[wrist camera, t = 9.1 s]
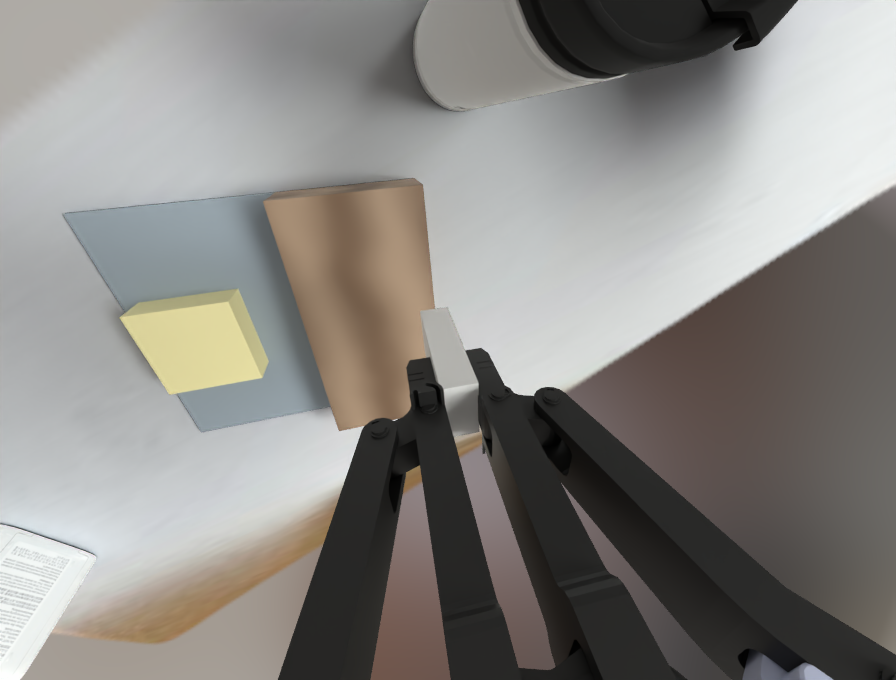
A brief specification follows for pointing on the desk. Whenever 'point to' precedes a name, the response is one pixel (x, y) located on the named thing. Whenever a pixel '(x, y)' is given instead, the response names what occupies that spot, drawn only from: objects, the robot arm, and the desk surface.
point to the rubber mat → (211, 270)
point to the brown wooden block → (358, 288)
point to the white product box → (33, 593)
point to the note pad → (198, 340)
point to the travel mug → (570, 42)
